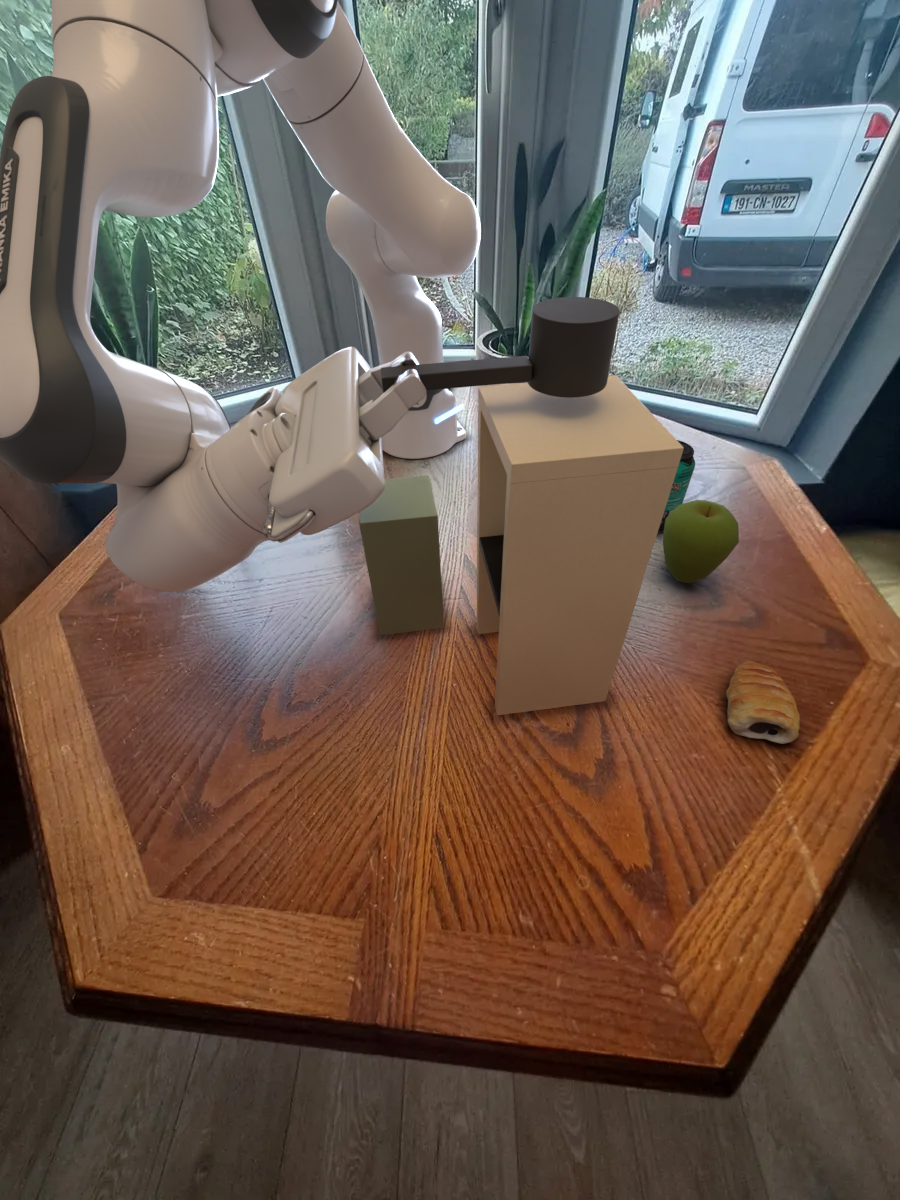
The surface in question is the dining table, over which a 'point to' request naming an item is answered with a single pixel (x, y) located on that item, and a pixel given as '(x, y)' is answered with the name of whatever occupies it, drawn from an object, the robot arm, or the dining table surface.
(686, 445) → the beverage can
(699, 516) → the apple
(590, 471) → the tall cream box
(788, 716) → the pastry
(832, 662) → the dining table surface
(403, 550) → the rectangular block
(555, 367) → the measuring cup
